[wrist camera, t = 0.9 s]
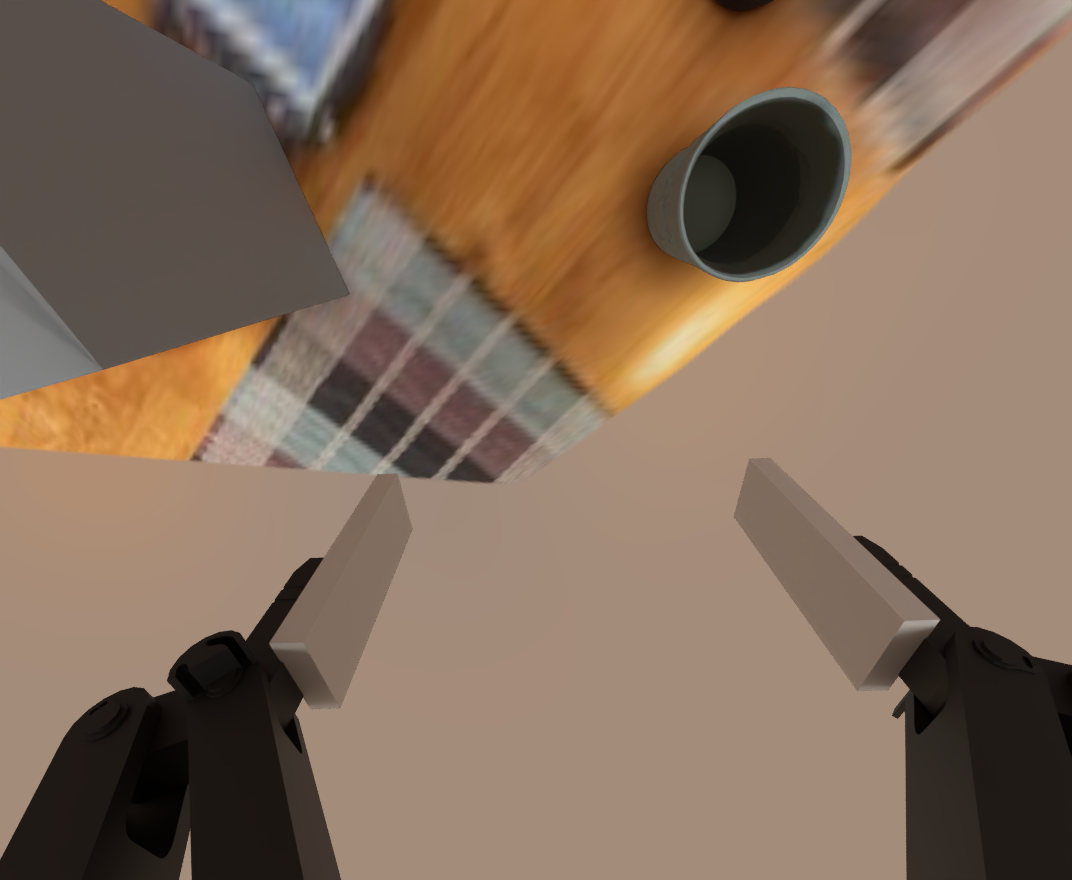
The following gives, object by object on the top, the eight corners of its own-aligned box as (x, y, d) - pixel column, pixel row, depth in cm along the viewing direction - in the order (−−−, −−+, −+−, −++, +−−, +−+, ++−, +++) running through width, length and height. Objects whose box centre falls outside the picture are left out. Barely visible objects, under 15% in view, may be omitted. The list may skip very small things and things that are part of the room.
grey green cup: (774, 181, 33) (889, 154, 22) (698, 290, 37) (764, 311, 26) (683, 108, 30) (763, 39, 20) (612, 233, 35) (647, 231, 24)
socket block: (23, 168, 32) (-976, 32, 11) (252, 84, 29) (-459, -308, 8) (157, 349, 39) (-280, 480, 18) (349, 294, 37) (103, 369, 16)
